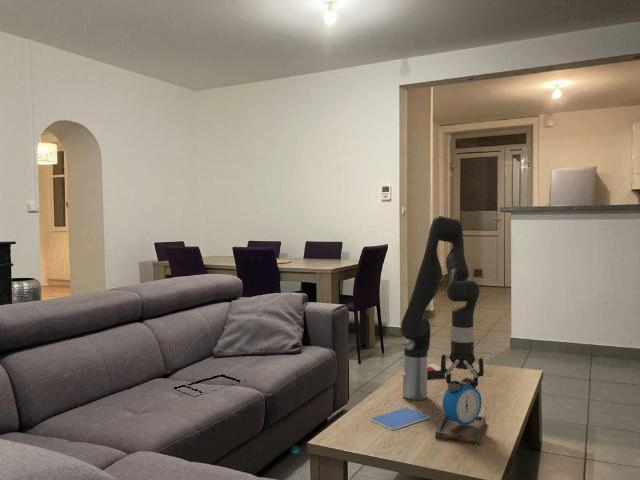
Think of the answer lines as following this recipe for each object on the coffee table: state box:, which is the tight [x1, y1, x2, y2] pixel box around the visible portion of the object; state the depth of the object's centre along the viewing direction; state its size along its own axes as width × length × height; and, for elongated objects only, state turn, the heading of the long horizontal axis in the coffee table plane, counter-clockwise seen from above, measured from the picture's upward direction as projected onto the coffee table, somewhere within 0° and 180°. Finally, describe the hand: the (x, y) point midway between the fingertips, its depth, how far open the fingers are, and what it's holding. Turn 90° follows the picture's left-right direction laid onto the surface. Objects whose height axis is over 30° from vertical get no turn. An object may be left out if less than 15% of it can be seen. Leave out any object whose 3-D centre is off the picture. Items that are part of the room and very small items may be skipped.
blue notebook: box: [369, 407, 431, 432], centre depth 193 cm, size 19×13×1 cm, turn 126°
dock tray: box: [434, 414, 486, 446], centre depth 183 cm, size 14×20×2 cm
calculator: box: [427, 363, 446, 380], centre depth 247 cm, size 11×4×15 cm
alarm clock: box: [442, 377, 483, 427], centre depth 183 cm, size 13×6×15 cm, turn 121°
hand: (461, 386), depth 183 cm, fingers closed on alarm clock, 8 cm apart
